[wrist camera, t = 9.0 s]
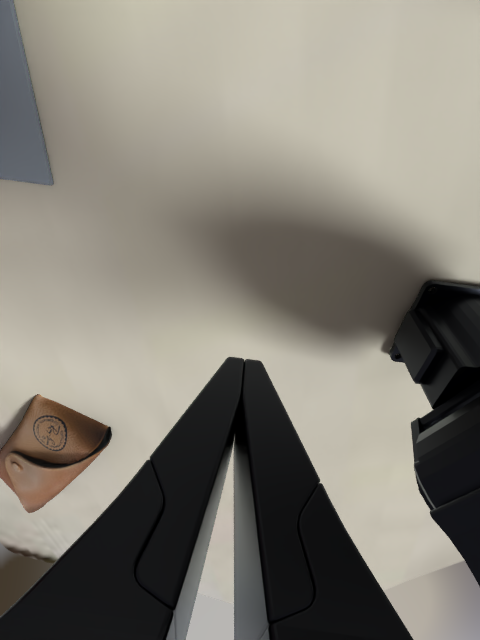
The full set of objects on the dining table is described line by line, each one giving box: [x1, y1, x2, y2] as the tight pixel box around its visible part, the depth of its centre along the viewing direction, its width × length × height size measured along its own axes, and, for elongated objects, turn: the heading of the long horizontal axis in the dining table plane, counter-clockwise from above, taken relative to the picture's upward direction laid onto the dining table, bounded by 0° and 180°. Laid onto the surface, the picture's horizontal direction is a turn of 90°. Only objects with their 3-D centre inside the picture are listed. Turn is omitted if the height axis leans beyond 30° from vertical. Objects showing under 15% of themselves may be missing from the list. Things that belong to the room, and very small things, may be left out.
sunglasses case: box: [0, 394, 112, 513], centre depth 35 cm, size 18×7×7 cm, turn 141°
